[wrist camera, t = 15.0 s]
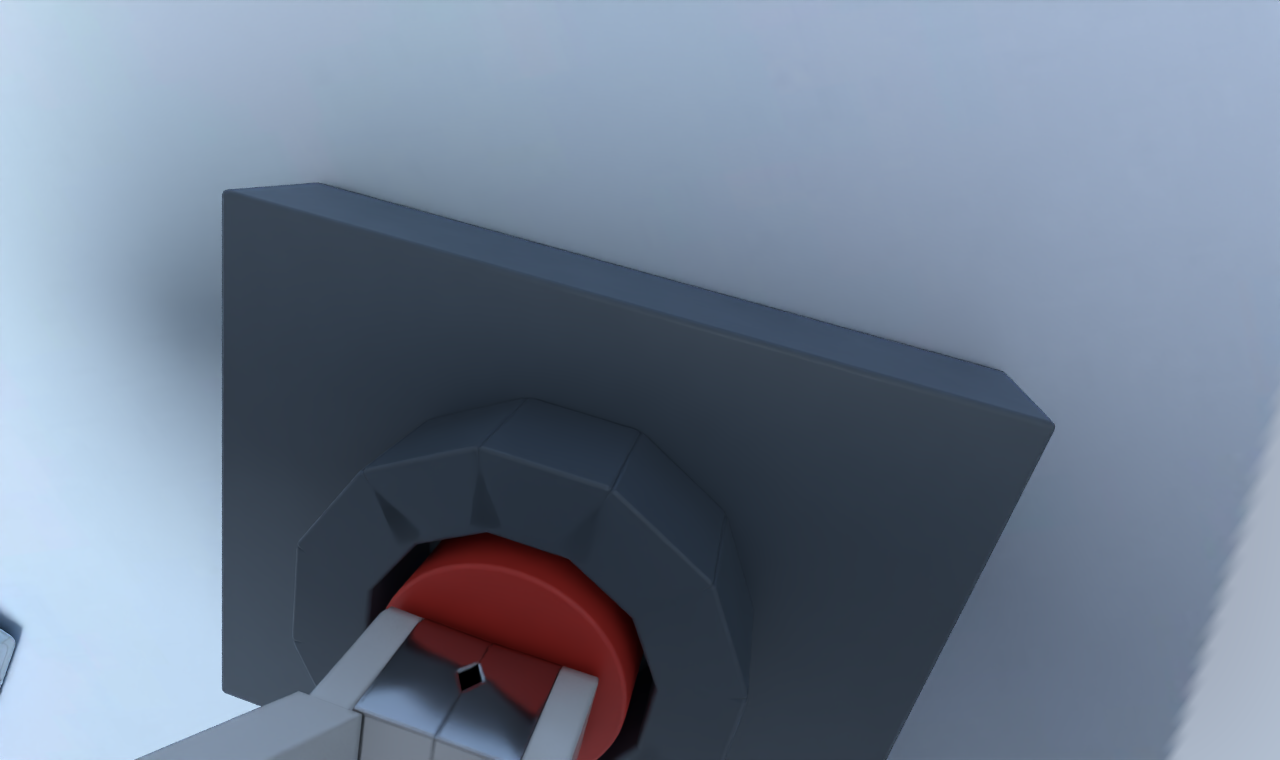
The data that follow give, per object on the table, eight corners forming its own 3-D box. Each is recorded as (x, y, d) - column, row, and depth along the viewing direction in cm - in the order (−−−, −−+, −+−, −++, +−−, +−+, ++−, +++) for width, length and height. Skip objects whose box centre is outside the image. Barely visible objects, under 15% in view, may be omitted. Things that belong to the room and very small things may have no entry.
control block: (1007, 371, 11) (1127, 493, 7) (806, 803, 14) (813, 1035, 10) (316, 181, 12) (103, 197, 8) (294, 621, 15) (139, 770, 12)
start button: (676, 541, 10) (655, 618, 8) (623, 718, 11) (595, 815, 10) (449, 469, 10) (387, 529, 9) (424, 648, 12) (365, 730, 10)
